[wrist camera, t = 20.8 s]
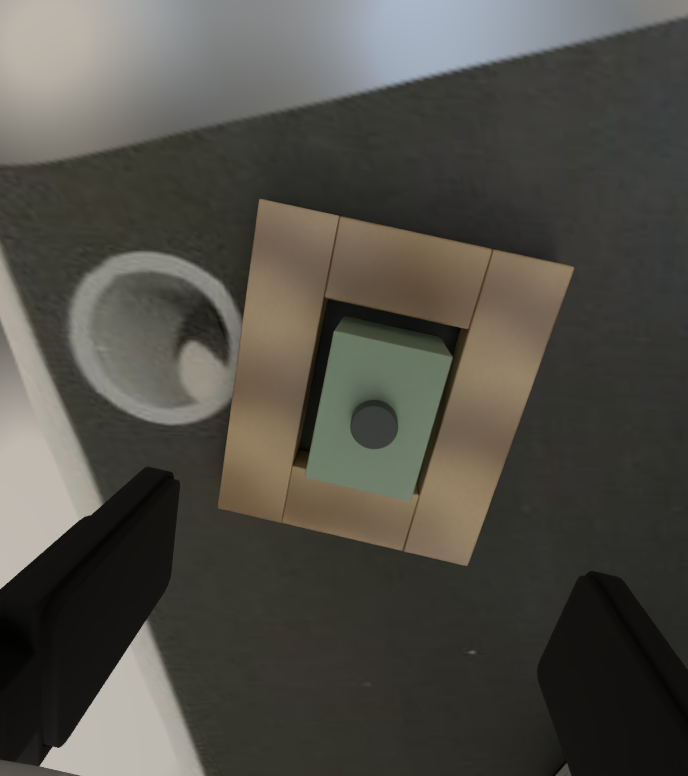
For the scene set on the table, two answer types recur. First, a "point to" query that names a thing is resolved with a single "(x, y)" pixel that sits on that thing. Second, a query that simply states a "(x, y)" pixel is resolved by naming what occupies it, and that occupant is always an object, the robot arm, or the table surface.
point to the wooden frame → (400, 296)
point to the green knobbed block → (377, 407)
